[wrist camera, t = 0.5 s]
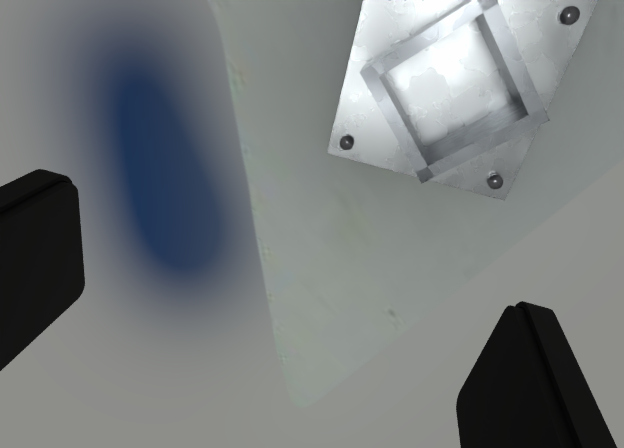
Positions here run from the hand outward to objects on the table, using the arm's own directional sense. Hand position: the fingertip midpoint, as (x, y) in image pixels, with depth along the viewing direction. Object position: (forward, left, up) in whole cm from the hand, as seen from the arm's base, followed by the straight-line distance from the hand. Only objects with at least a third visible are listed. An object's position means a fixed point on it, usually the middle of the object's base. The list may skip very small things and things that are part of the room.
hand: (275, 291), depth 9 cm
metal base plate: (-1, +6, -31) cm, 31 cm away
